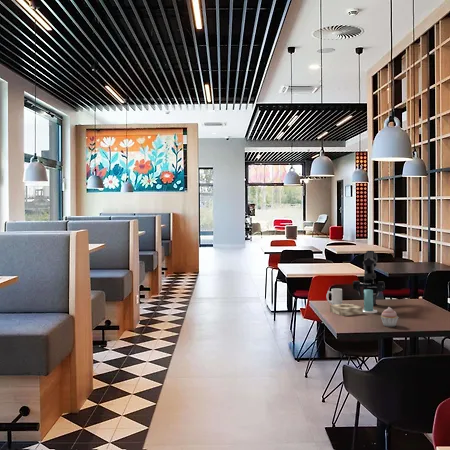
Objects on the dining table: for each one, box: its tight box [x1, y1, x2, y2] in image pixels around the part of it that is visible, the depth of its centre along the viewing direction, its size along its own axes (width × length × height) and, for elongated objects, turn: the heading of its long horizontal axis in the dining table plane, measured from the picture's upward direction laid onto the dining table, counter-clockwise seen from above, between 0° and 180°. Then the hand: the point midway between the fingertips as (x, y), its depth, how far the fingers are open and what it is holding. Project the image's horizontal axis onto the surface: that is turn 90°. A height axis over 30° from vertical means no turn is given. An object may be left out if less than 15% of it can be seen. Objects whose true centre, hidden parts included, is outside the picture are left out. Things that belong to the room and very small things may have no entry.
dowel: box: [363, 289, 374, 311], centre depth 296 cm, size 5×5×12 cm
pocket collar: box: [329, 303, 364, 317], centre depth 295 cm, size 14×14×4 cm
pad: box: [363, 308, 378, 314], centre depth 296 cm, size 10×10×1 cm
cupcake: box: [380, 306, 399, 328], centre depth 258 cm, size 9×9×10 cm
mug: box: [326, 287, 343, 305], centre depth 312 cm, size 10×7×12 cm, turn 73°
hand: (368, 296), depth 295 cm, fingers open, 9 cm apart
